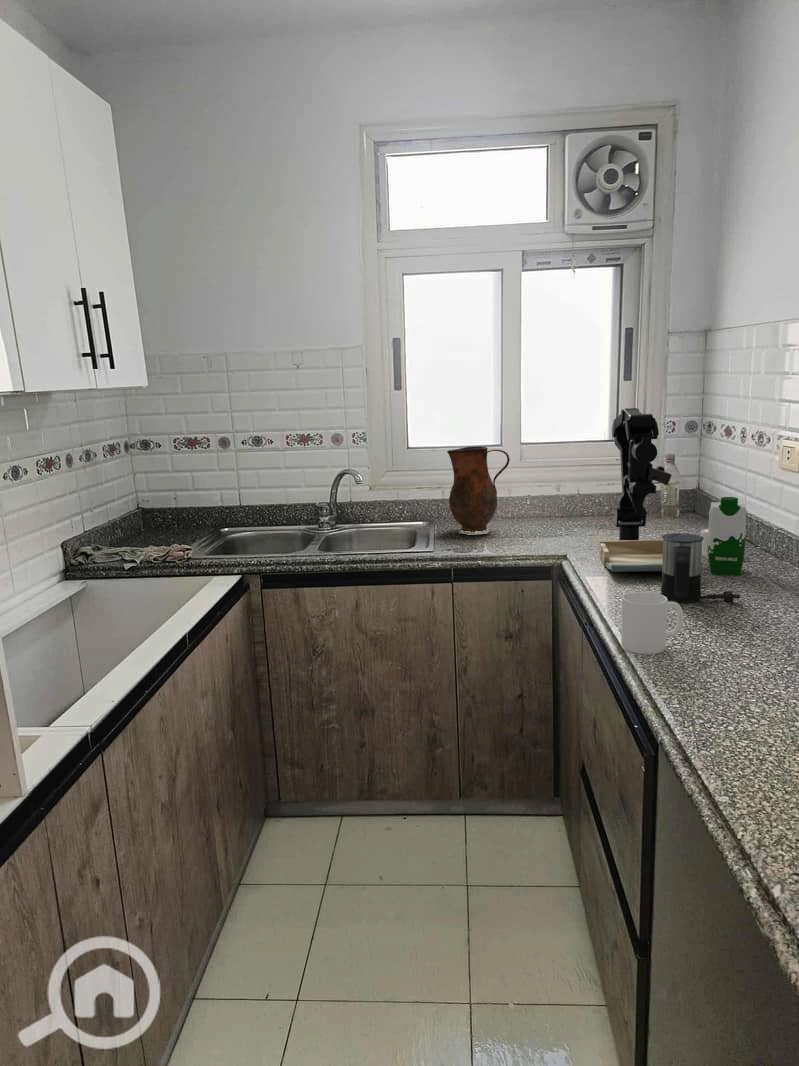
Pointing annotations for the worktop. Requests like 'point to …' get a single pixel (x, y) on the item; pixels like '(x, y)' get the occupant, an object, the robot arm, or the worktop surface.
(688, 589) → the milk frother
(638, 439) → the robot arm
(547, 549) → the worktop surface
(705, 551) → the shot glass
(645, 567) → the sage green panel
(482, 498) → the pitcher
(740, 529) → the milk carton
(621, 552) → the beige open tray
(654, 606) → the cup
